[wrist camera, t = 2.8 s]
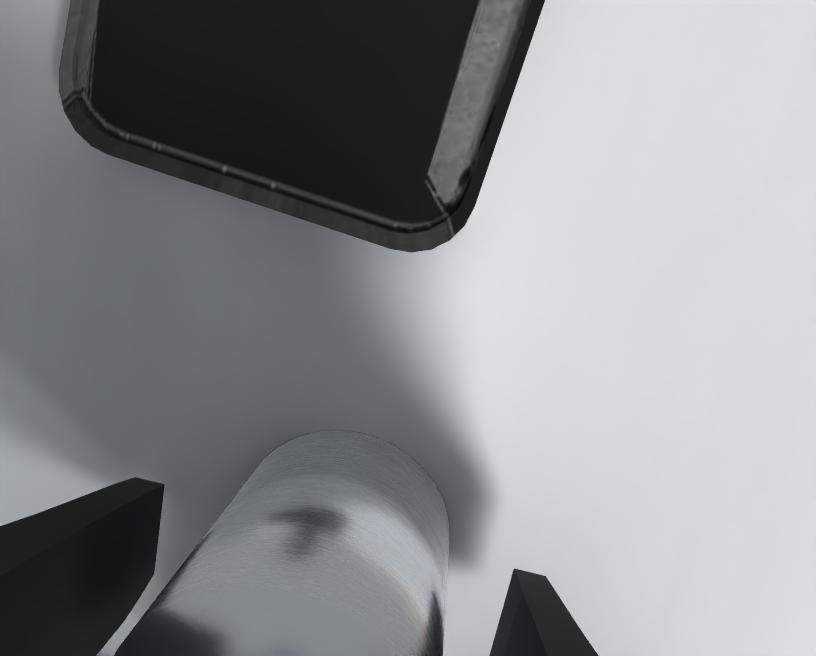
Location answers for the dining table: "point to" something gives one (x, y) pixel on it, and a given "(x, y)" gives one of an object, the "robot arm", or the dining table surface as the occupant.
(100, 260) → the dining table surface
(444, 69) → the phone
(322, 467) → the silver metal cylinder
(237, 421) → the dining table surface
